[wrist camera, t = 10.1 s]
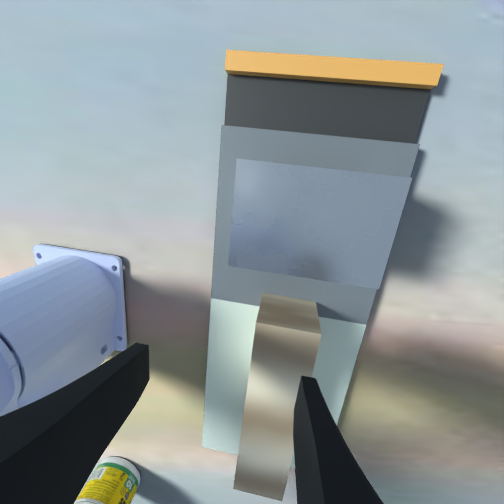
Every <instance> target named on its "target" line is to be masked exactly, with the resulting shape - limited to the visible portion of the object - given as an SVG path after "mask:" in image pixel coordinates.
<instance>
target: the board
mask: <svg viewBox="0 0 504 504" xmlns="http://www.w3.org/2000/svg"><path fill="white" fill-rule="evenodd" d="M443 65H444V64H435V63H419V62H404V61H389V60H373V59H358V58H343V57H328V56H312V55H297V54H282V53H267V52H251V51H236V50H226V62H225V71H226V72H227V74H228V78H227V94H226V109H225V125H222V127H221V144H220V160H219V176H218V192H217V209H216V225H215V241H214V257H213V274H212V290H211V306H210V322H209V339H208V355H207V371H206V387H205V404H204V420H203V436H202V447H206V448H210V449H214V450H218V451H223V452H227V453H231V454H235V455H238V451H239V444H240V436H241V429H242V422H243V414H244V407H245V399H246V392H247V385H248V377H249V370H250V363H251V355H252V348H253V340H254V333H255V326H256V320H257V316H258V311H259V307H260V303H261V298H262V294H263V293H267V294H273V295H279V296H285V297H291V298H297V299H303V300H309V301H315V302H316V306H317V312H318V317H319V322H320V328H321V333H322V335H321V340H320V344H319V348H318V352H317V356H316V361H315V365H314V369H313V373H312V378H315V379H316V380H317V382H318V385H319V387H320V390H321V392H322V395H323V397H324V399H325V402H326V404H327V406H328V409H329V411H330V413H331V415H332V417H333V419H334V421H335V423H336V425H337V423H338V419H339V416H340V413H341V409H342V406H343V403H344V399H345V396H346V392H347V389H348V386H349V382H350V379H351V375H352V372H353V369H354V365H355V362H356V359H357V355H358V352H359V348H360V345H361V342H362V338H363V335H364V332H365V328H366V325H367V321H368V318H369V315H370V311H371V308H372V305H373V301H374V298H375V294H376V291H377V289H373V288H367V287H360V286H354V285H348V284H341V283H335V282H328V281H322V280H316V279H309V278H303V277H296V276H290V275H284V274H277V273H271V272H264V271H258V270H252V269H245V268H239V267H232V266H228V259H229V247H230V235H231V223H232V210H233V198H234V186H235V174H236V162H237V159H246V160H255V161H264V162H273V163H282V164H291V165H301V166H310V167H319V168H328V169H337V170H346V171H355V172H364V173H373V174H382V175H391V176H400V177H409V178H410V176H411V173H412V169H413V166H414V163H415V159H416V156H417V153H418V149H419V146H420V144H415V142H416V138H417V135H418V132H419V128H420V125H421V121H422V118H423V114H424V111H425V107H426V104H427V101H428V97H429V94H430V90H431V89H432V88H434V87H436V86H437V85H438V82H439V78H440V75H441V71H442V68H443ZM290 467H291V468H295V458H294V453H293V457H292V461H291V466H290Z"/></svg>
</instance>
